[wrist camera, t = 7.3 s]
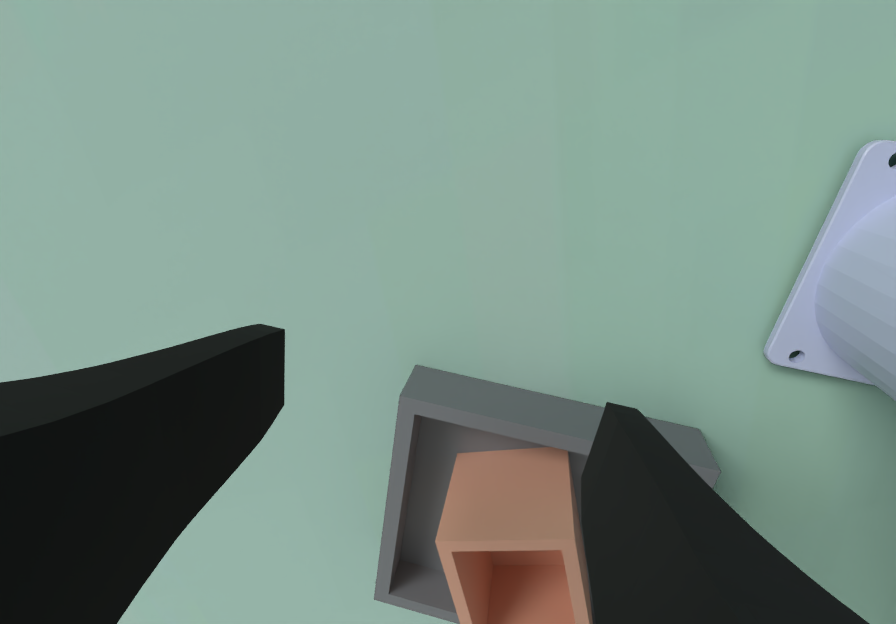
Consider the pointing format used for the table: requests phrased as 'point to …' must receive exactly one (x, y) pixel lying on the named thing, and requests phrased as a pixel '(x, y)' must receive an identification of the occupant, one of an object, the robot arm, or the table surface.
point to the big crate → (477, 430)
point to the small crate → (514, 539)
